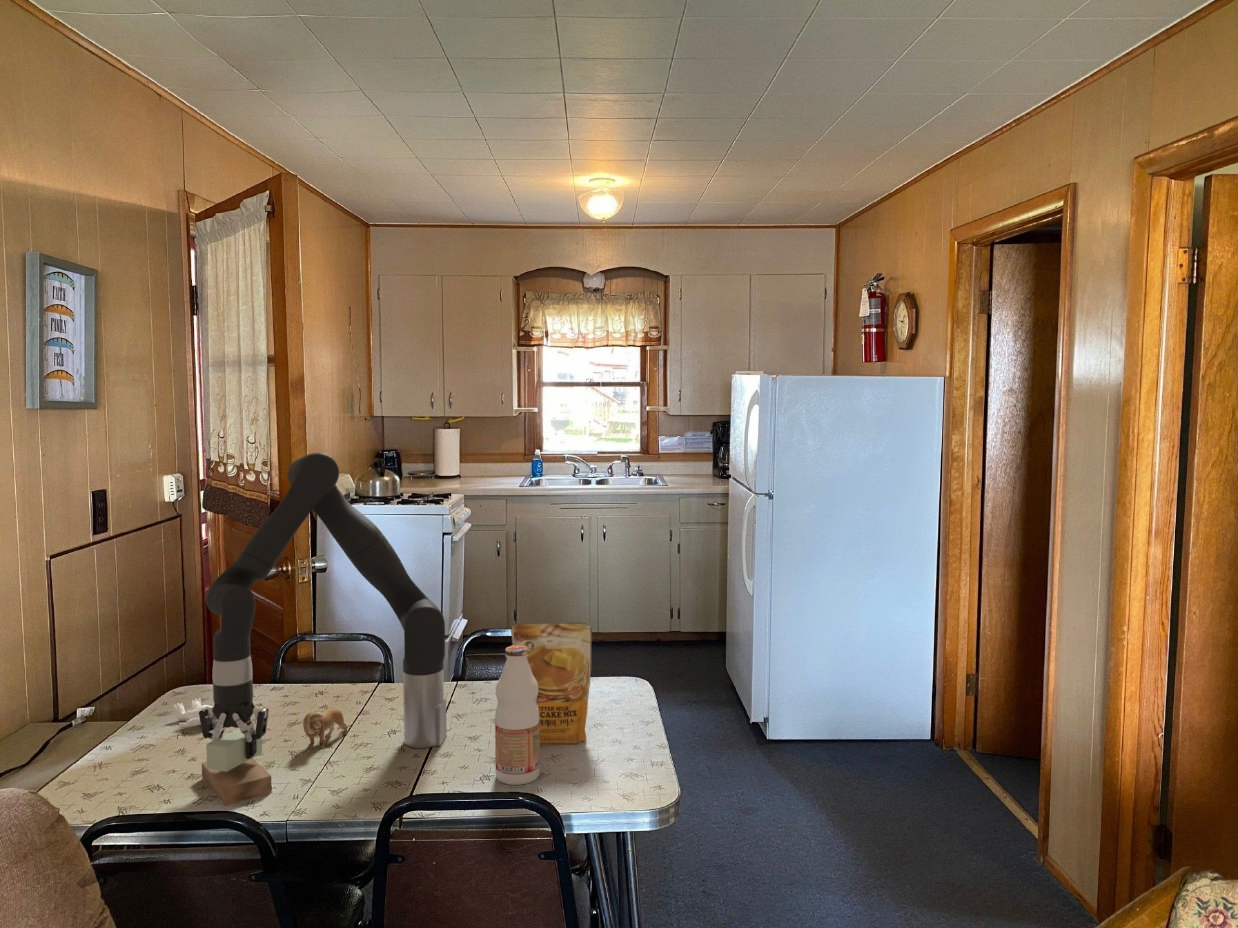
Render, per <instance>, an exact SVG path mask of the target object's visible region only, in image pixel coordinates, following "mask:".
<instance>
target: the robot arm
mask: <svg viewBox="0 0 1238 928" xmlns="http://www.w3.org/2000/svg"><path fill="white" fill-rule="evenodd" d="M339 476H340V469H339V464H338V463H337V461H336V460H335V459H334V458H333V457H332V456H331V455H329V454H327V453H324V452H312V453H309V454H306V455H303V456H302V457H301V456H300V457H299V458H297V459H295V460H294V461H293V462H292V464H290V466H289V469H288V471H287V477H288V478H287V480H288V482H289V484H290V487H289V489H288V490H287V492H286V494H285V496H284V497H283V499H282V500H281V501H280V503H278V506H277V507H276V508H275V509H274V511H273V512H272V513H270V515H269V516H268V517H267V518H266V519H265V520H264V522H263V523H262V524H261V525H260V526H259V528H257V530H256V531H255V533H254V534H253V535H252V536H251V537H250V538H249V540H248V542H247V543H246V545H245V547H244V548H243V549H242V551H241V553H240V554H239V555H238V557H237V558H236V560H235V561H234V562H232V563H231V565H229V566H228V567H227V568H226V569H225V570H224V571H223V572H222V573H221V574H220V575H219V576H218V577H217V578H216V579H215V581H214V582H213V583H212V585H211V586H210V588H209V589H208V592H207V594H206V599H205V603H206V606H207V609H208V610H209V611H210V612H211V613H213V614H215V615H217V616H220V617H221V624H220V628H219V629H218V630H216V631H215V633H214V634H213V640H212V651H213V652H212V653H213V654H212V655H213V663H212V665H213V666H212V676H211V677H212V692H213V693H212V694H213V697H212V698H213V704H214V705H213V707H211V708H210V707H208V706H207V707H205V708H203V709H202V710H201V711H199V717H200V723H201V725H200V727H201V732H202V737H203V739H210V740H211V742H212V741H214V740H216V739H218V738H220V737H222V736H224V735H225V734H224V733H225V731H226V729H227V728H231V727H232V728H235V729H240V731H241V733H243V734H244V736H245V738H246V740H247V742H246V758H247V759H251V758H252V757H253V756H254V755H255V754H256V752H257V739H260V738H261V737H262V738H263V736H264V735H266V733H267V727H268V726H267V725H268V720H269V708H268V707H265V706H264V707H263V708H260V707H259V708H257V707H256V706H255V704H254V702H253V701H254V684H253V683H254V682H253V681H254V679H253V676H254V675H253V663H252V655H251V654H252V653H251V651H252V650H251V632H252V630H253V623H254V619H255V614H256V599H255V596H254V595H255V594H254V593H253V591H252V590H251V589H250V587H251V586H252V585H253V584H254V583H255V582H257V581H262V580H264V579H266V577H267V576H269V574H270V573H271V571H272V570H273V568H274V566H275V565H276V564H277V562H278V560H279V559H280V558H281V555H282V554H283V553H284V551H285V549H286V548H287V546H288V545H289V544H290V542H291V540H292V538H293V537H294V536H295V534H296V533H297V532H298V529H300V526H302V524H303V523H304V521H305V520H306V518H307V517H308V516H309V515H310V514H311V512H312V511H313V512H314V514H316V516H317V517H318V518H319V519H320V520H321V522H322V523H323V524H324V526H325V528H326V529H327V531H328V532H329V534H330V535H331V536H332V538H333V539H334V540H335V542H336V543H337V544H338V546H339V547H340V548H341V549H342V551H343V553H344V554H345V555H346V557H347V559H348V560H349V561H350V562H351V564H352V565H353V566H354V568H355V569H356V570H357V572H359V573H360V574H361V576H362V577H364V579H365V580H366V582H368V583H369V584H370V585H371V586H372V587H374V588H375V589H376V590H377V591H378V592H379V593H380V594H381V595H382V596H383V597H384V599H385V600H386V601H387V603H388V605H389V607H390V608H391V609H392V611H393V612H394V614H395V616H396V618H397V619H398V621H399V623H400V626H401V627H402V629H403V635H404V636H403V637H404V640H403V643H404V645H403V646H404V655H403V660H402V667H403V668H402V672H403V673H402V676H403V677H402V680H403V681H402V685H403V689H402V690H403V723H404V724H403V736H404V738H403V739H404V741H403V742H404V744H405V745H406V746H407V747H410V748H414V749H415V748H416V749H425V748H433V747H436V746H437V747H439V746H442V745H443V742H444V741H445V739H446V738H447V735H448V734H447V697H445V696H444V694H445V691H444V688H445V687H444V660H445V657H446V655H445V653H446V624H445V618H444V614H443V613H442V612H441V610H440V608H438V606H437V605H436V604H435V603H434V602H433V601H432V600H431V599H430V598H429V597H428V596H426V594H425V593H424V592H423V591H422V590H421V589H420V588H419V587H418V585H416V583H415V582H414V581H413V579H412V578H411V576H410V575H409V573H408V572H407V570H406V569H405V567H404V564H403V563H402V562H403V561H401V559H400V557H399V555H398V554H397V552H396V551H395V549H394V547H393V546H392V544H391V543H390V542H389V540H388V539H387V538H386V536H385V535H384V534H383V532H382V531H381V529H379V527H378V526H377V525H376V524H375V523H374V522H373V521H371V519H369V518H368V517H367V516H366V515H364V513H362V512H361V511H359V510H358V509H357V507H355V506H353V505H352V504H351V503H350V502H349V501H348V500H347V498H345V497H344V495H343V493H342V492H341V491H340V489H339V487H338V486H337V483H338V480H339ZM213 714H214V715H215V716H216V718H217V719H218V721H217V722H216V725H215V726H214V723H213V720H212V716H213ZM253 715H254V719H255V720H256V727H255V724H254V721H253V719H252V716H253ZM255 729H256V730H255ZM253 758H254V757H253Z"/></svg>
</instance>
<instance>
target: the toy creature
mask: <svg viewBox="0 0 1238 928" xmlns="http://www.w3.org/2000/svg"><path fill="white" fill-rule="evenodd" d="M191 706H192V709H191V710H187V711H185V707H184V705H183V703H182V702H180V703H179V702H177V703H176V704H173V707H172V709H173V712H174V713H175V715H176V717H177V720H178V721H179V722H178V725H177V724H175V728H176V730H177V729H178V730H183V729H185V728H190V727H198V726H201V723H200V717H199V711H201V710H202V709H203V708H205V707H207V706H208V707H210V708H211V707H214V705H213V706H212V705H209V704H203V705H202V699H201V697H199V698H196V697H195V698H194V699H192V700H191ZM212 720H213V724H214V723H217V722H218V719H217V718H216V716H215V715H214V714H213V716H212Z"/></svg>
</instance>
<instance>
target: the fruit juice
mask: <svg viewBox="0 0 1238 928" xmlns="http://www.w3.org/2000/svg"><path fill="white" fill-rule="evenodd" d="M528 653H529V652H528V647H526V646H521V645H514V646H512V645H510V646H507V647H506V648H505V650H504V654H505V658H506V660H505V664H504V667H503V670H502V673H501V676H500V677H499V679H498V680H497V682H496V685H495V697H496V699H497V705H496V708H495V713H494V718H495V719H494V731H495V733H494V735H495V736H494V738H495V741H494V743H495V745H494V746H495V747H494V749H495V750H494V751H495V755H494V757H495V759H494V761H495V776H496V779H497V780H498V781H499V782H500V783H502V784H505V785H509V786H519V785H526V784H529V783H532V782H534V781H536V780H537V779H538V777H539V776H540V772H541V771H540V767H541V766H540V763H541V762H540V759H541V758H540V756H541V755H540V754H541V753H540V749H541V748H540V741H539V708H538V705H537V702H536V700H537V696H538V691H539V689H538V683H537V681H536V679H535V677H534V676H533V674H532V671H531V668H530V666H529V663H528V660H527V656H528Z"/></svg>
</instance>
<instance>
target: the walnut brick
mask: <svg viewBox="0 0 1238 928" xmlns="http://www.w3.org/2000/svg"><path fill="white" fill-rule="evenodd" d="M201 778H202V781H203V782H204V783H205V784H206V786H208V788H209V789H210V790H211V791H212V792H213V794H215V796H216V797H217V798H218V800H219V801H220V802H221V803H222V804H223V805H224V806H225V807H226V806H230V805H234V804H237V803H241V802H245V801H247V800H251V799H255V798H257V797H262V796H265V795H268V794H271V793H273V790H272V775H271V774H270V773H269V772H268V771H267V770H266V769H265V768H264V767H263V766H262V765H261V764H260V763H259V762H258V761H256V760H255V758H254V757H253V758H251V759H249V760H247V761H246V762H244V763H242V764H240V765H238V766H236V767H235V768H233V769H231V770H229V771H227V772H225V771H220V770H214V769H209V768H207V760H206V761H203V762H201Z"/></svg>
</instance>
